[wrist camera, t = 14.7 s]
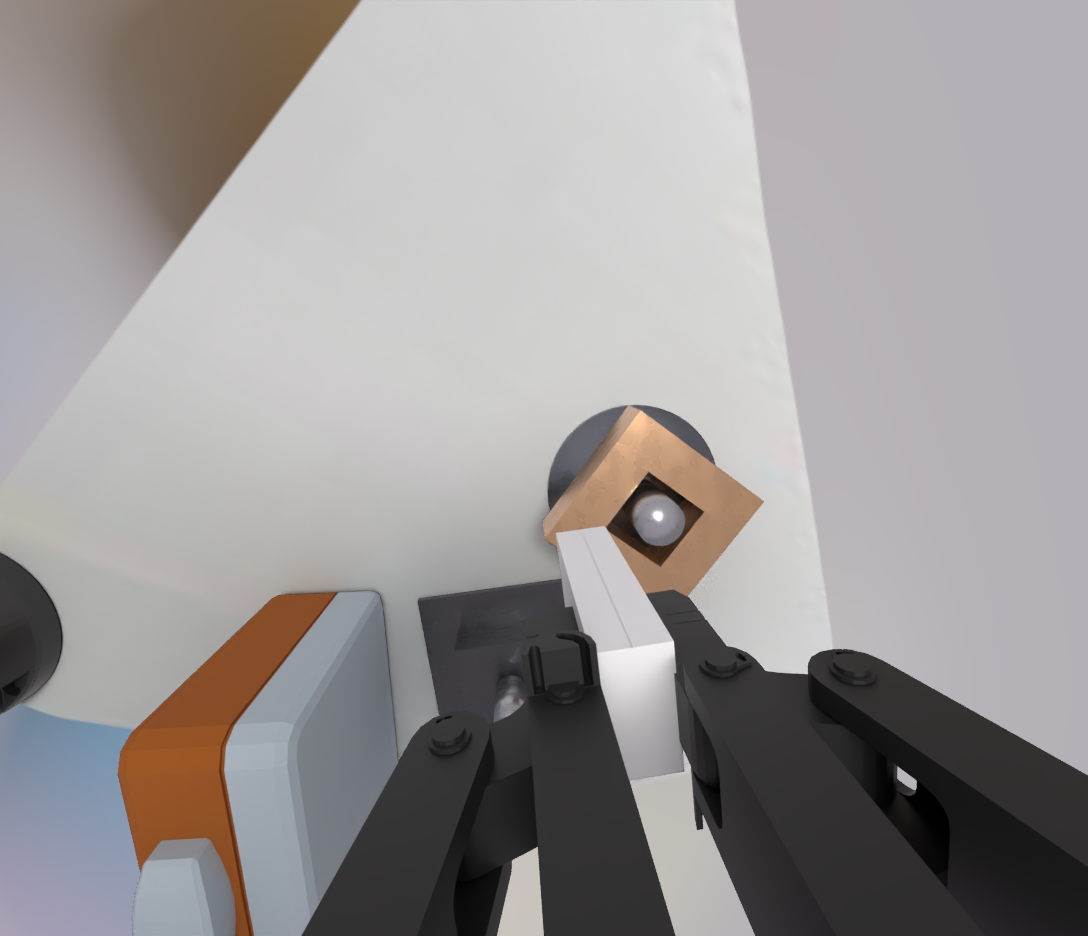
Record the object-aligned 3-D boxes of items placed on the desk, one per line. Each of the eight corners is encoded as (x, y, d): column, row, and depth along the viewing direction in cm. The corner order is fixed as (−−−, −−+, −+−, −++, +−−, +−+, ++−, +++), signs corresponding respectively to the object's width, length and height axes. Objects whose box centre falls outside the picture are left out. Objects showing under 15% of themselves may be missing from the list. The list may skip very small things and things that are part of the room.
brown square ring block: (542, 521, 40) (544, 539, 36) (628, 405, 38) (640, 410, 35) (653, 596, 42) (667, 621, 38) (740, 487, 40) (764, 501, 36)
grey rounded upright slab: (277, 588, 43) (66, 785, 23) (382, 583, 44) (265, 773, 24) (304, 776, 47) (143, 1086, 27) (401, 771, 47) (313, 1073, 27)
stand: (446, 740, 47) (429, 822, 39) (418, 598, 44) (395, 653, 36) (598, 718, 47) (615, 795, 39) (581, 576, 44) (595, 626, 36)
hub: (558, 579, 44) (567, 633, 35) (537, 417, 41) (542, 432, 33) (720, 557, 44) (769, 605, 36) (710, 394, 42) (761, 403, 33)
